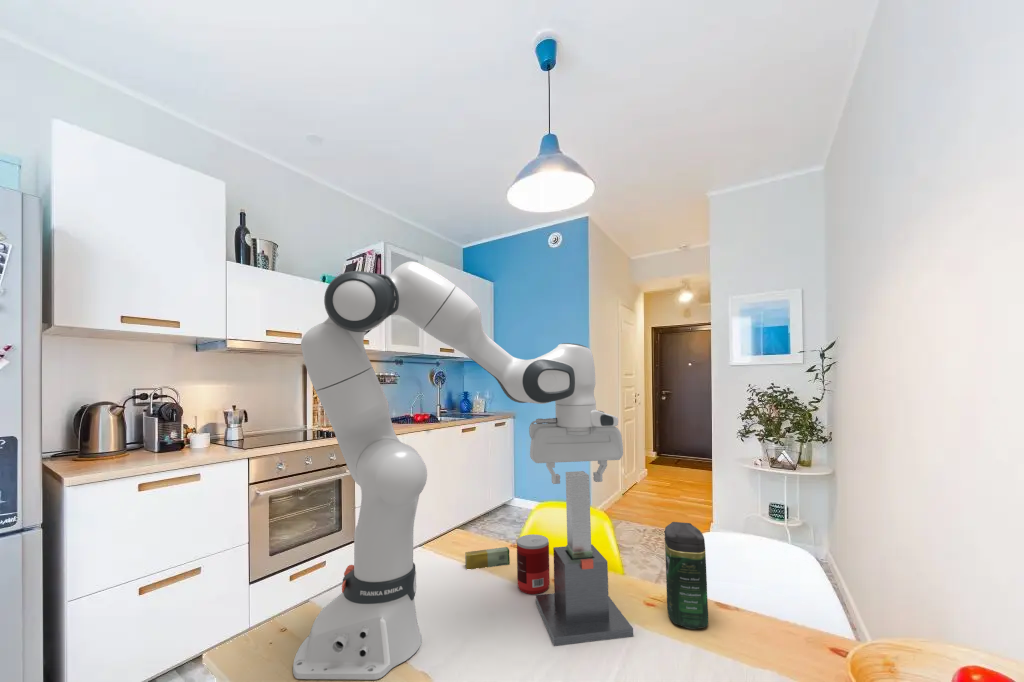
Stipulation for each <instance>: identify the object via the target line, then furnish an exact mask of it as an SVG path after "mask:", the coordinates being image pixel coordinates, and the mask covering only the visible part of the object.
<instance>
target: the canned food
mask: <svg viewBox="0 0 1024 682" xmlns="http://www.w3.org/2000/svg"><path fill="white" fill-rule="evenodd" d="M516 568H517V569H516V571H517V573H516V574H517V575H516V576H517V579H516V580H517V587H518V589H519V591H521V592H522V593H524V594H529V595H541V594H544V592H547V591H548V589H549V588H550V580H551V579H550V541H549V538H548V537H546V536H544V535H542V534H541V535H540V534H525V535H522V536H520V537H518V538H517V540H516Z"/></svg>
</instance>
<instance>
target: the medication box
mask: <svg viewBox="0 0 1024 682" xmlns="http://www.w3.org/2000/svg"><path fill="white" fill-rule="evenodd" d="M464 555H465V557H464V559H465V562H464V563H465V566H464V567H465V569H466V570H467V569H471V570H477V569H476V568H479V569H486V568H485V567H487V568H494V567H502V566H509V565H511V564H510V563H511V559H510V548H508V547H507V546H505V547H502V546H501V547H496V548H488V549H482V550H481V549H480V550H472V551H466V552H465V554H464Z"/></svg>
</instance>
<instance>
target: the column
mask: <svg viewBox="0 0 1024 682" xmlns="http://www.w3.org/2000/svg"><path fill="white" fill-rule="evenodd" d="M590 491H591V490H590V474H588V473H587V472H585V471H583V470H580V471H579V470H576V471H565V497H566V498H565V499H566V501H565V503H566V508H565V509H566V539H567V541H566V542H567V544H566V546H567V552H568V556H569V557H570V559H571V560H577V559H589V558H592V550H591V544H592V533H591V531H592V530H591V528H592V527H591V526H592V524H591V497H590V494H591V493H590Z"/></svg>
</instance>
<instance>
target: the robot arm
mask: <svg viewBox="0 0 1024 682" xmlns="http://www.w3.org/2000/svg"><path fill="white" fill-rule="evenodd" d="M323 301H324V308H325V311H326V313H327V316H328V317H327V319H326V320H324V321H323V322H322V323H319V324H317V325H315V326H313V327H311V328H310V329H308V330H307V332H305V333H304V334H303V336H302V338H301V342H300V348H301V349H300V350H301V352H302V357H303V362H304V365H305V368H306V372H307V374H308V376H309V379H310V382H311V384H312V386H313V389H314V390H315V393H316V395H317V397H318V400H319V402H320V404H321V407H322V408H323V410H324V413H325V414H326V416H327V419H328V422H329V423H330V425H331V427H332V429H333V432H334V435H335V438H336V441H337V444H338V446H339V450H340V452H341V454H342V457H343V458H344V461H345V464H346V466H347V468H348V471H349V474H350V476H351V478H352V479H353V481H354V482H355V484H357V485H358V486H359V487H360V490H361V503H360V509H359V513H358V519H357V525H356V526H355V528H354V543H353V544H354V545H353V546H354V547H353V548H354V552H353V564H349V565H347V567H346V568H345V571H344V572H343V577H342V584H341V593H340V594H339V595H338V596H337V597H335V598H334V599H333V600H331V601H330V602H328V604H326V606H324V607H323V608H322V609H321V610H320V612H319V613H318V614H317V616H316V618H315V620H314V621H313V624H312V626H311V630H310V632H309V635H308V636H307V637H306V638H305V639H304V640H303V641H302V643H300V646H299V648H298V649H297V652H296V654H295V656H294V660H293V663H292V673H293V676H294V678H295V679H297V680H361V681H362V680H367V681H368V680H370V681H371V680H375V681H376V680H378V679H381V678H383V677H384V676H385V675H387V674H388V673H389V672H390V671H391V670H392V669H394V667H397V666H398V665H399V664H402V663H404V662H405V661H407V660H409V659H410V658H411V657H412V656H413V655H414V654H416V652H417V651H418V650H419V649H420V647H421V644H422V640H423V639H422V638H423V637H422V634H421V631H420V627H419V622H418V617H417V611H416V610H417V609H416V602H415V600H416V599H415V597H416V593H417V570H416V564H415V562H414V531H415V530H414V526H415V519H416V513H417V508H418V504H419V499H420V495H421V493H422V492H423V490H424V488H425V487H426V484H427V480H428V469H427V465H426V463H425V461H424V459H423V458H422V456H421V455H420V454H419V453H418V451H417V450H416V449H415V448H414V447H412V446H411V445H409V444H406V443H404V442H402V441H400V439H399V438H398V436H397V434H396V432H395V429H394V426H393V422H392V419H391V415H390V413H391V412H390V408H389V402H388V398H387V395H386V394H385V392H384V389H383V387H382V385H381V383H380V381H379V378H378V376H377V374H376V372H375V369H374V367H373V364H372V362H371V360H370V359H369V356H368V354H367V351H366V348H365V344H364V337H365V335H367V334H368V333H369V332H371V331H372V330H373V329H375V328H377V327H379V326H380V325H381V324H383V323H384V321H385V320H386V319H387V318H389V317H390V316H394V315H395V316H401V317H403V318H405V319H407V320H409V321H410V322H411V323H413V324H415V325H416V326H417V327H419V328H420V329H421V330H422V331H424V332H425V333H426V334H429V335H430V336H431V337H433V338H434V339H436V340H438V341H440V342H441V343H443V344H445V345H446V346H449V347H450V348H453V349H455V350H457V351H459V352H460V353H463V354H464V355H466V356H467V357H468V358H469V359H470V360H472V361H473V362H475V363H476V365H479V367H481V368H483V370H484V371H486V372H487V373H488V374H490V375H491V376H492V377H493V378H494V379H495V380H496V381H497V383H498V384H499V386H500V388H501V389H502V391H503V393H504V394H505V395H506V397H507V398H509V399H510V400H511V401H513V402H515V403H519V404H524V403H526V404H528V403H530V404H538V405H539V404H540V405H545V404H549V403H551V402H552V403H553V402H555V407H554V408H555V409H554V410H555V417H549V418H536V419H535V420H533V421H532V422H531V423H530V424H529V427H528V429H529V430H528V431H529V437H530V439H531V440H530V448H529V449H530V451H529V458H530V459H531V460H532V461H533V462H534V463H535V464H545V465H546V466H545V467H546V468H547V470H548V471H549V473H550V474H551V483H552V485H559V484H561V475H560V474H558V473H556V472H555V470H554V469H555V467H556V463H572V462H573V463H575V462H577V463H578V462H580V463H581V462H597V464H598V465H599V466H598V467H597V470H596V471H593V472H592V474H593V477H592V478H593V479H592V480H593V482H596V483H601V482H603V474H604V473H605V470H606V469H607V467H608V461H620V460H621V459H622V458H623V456H624V445H623V438H622V433H621V430H620V429H619V428H618V425H619V418H618V417H617V416H616V415H613V414H611V413H610V414H609V413H606V412H605V411H602V410H597V401H596V398H595V388H596V367H595V360H594V355H593V353H592V351H591V349H590V348H588V347H587V346H586V345H583V344H579V343H571V342H563V343H559V344H558V345H557V346H556V347H555V348H554V349H552V350H551V351H548V352H546V353H545V354H542V355H540V356H538V357H536V358H531V359H523V358H518V357H515V356H513V355H511V354H510V353H509V352H507V350H505V349H504V348H503V347H501V346H500V345H499V344H498V343H496V342H495V341H494V340H493V339H491V337H489V336H488V335H487V333H486V332H485V331H484V327H483V324H482V313H481V310H480V307H479V305H478V304H477V303H476V302H475V301H474V300H473V299H472V298H471V297H470V296H469V295H468V294H467V293H466V292H465V291H464V290H463V289H461V288H460V287H459V286H457V285H456V284H455V283H453V282H452V281H450V280H449V279H447V278H446V277H444V276H443V275H441V274H440V273H438V272H437V271H436V270H433V269H431V268H430V267H427V266H425V265H423V264H421V263H419V262H416V261H406V262H404V263H401V264H400V265H398V266H397V267H396V268H395V269H394V270H392V272H391V273H390V274H389V275H386V274H381V273H375V272H370V271H369V272H368V271H363V270H362V271H361V270H354V271H353V270H351V271H346V272H342V273H341V274H339V275H337V276H336V277H334V279H332V280H331V281H330V283H329V284H328V285H327V287H326V290H325V293H324V300H323Z"/></svg>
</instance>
